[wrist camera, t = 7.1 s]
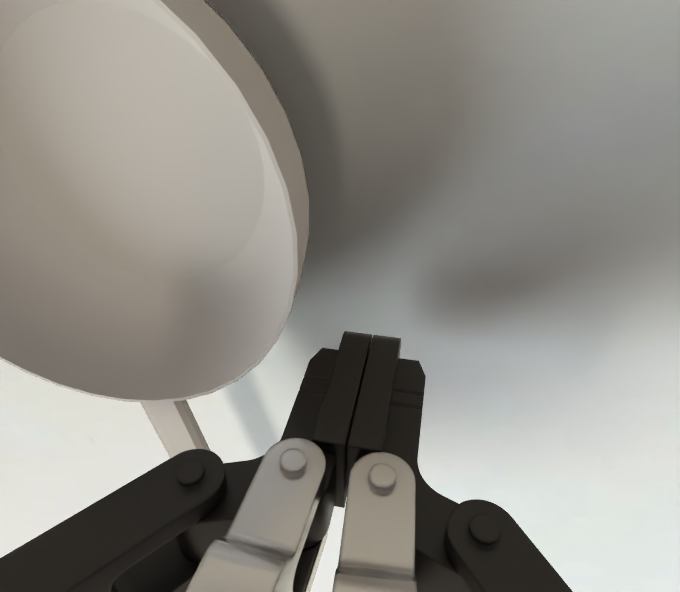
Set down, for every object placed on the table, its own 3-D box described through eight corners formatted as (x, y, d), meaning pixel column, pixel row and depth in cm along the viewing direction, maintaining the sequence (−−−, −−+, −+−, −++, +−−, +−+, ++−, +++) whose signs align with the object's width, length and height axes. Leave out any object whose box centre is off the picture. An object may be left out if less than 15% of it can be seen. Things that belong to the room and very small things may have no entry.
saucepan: (256, -178, 9) (153, -224, 6) (407, 468, 19) (397, 574, 16) (-164, -27, 12) (-375, -8, 9) (155, 462, 22) (105, 550, 19)
